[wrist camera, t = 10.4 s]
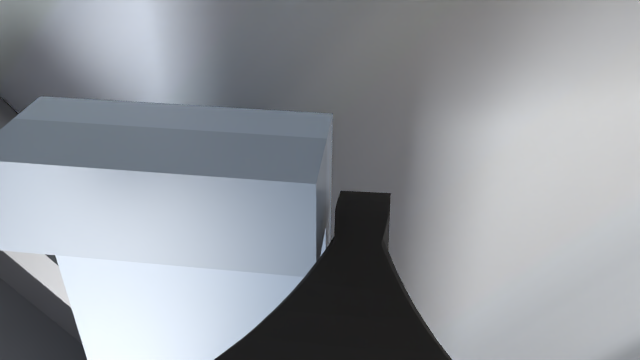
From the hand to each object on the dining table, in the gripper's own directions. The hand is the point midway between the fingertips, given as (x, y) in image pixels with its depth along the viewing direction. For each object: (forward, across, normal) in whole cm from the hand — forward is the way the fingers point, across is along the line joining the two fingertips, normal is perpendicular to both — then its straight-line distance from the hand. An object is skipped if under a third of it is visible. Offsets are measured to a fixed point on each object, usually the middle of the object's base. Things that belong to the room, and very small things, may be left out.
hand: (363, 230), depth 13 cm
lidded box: (0, +4, +5) cm, 7 cm away
